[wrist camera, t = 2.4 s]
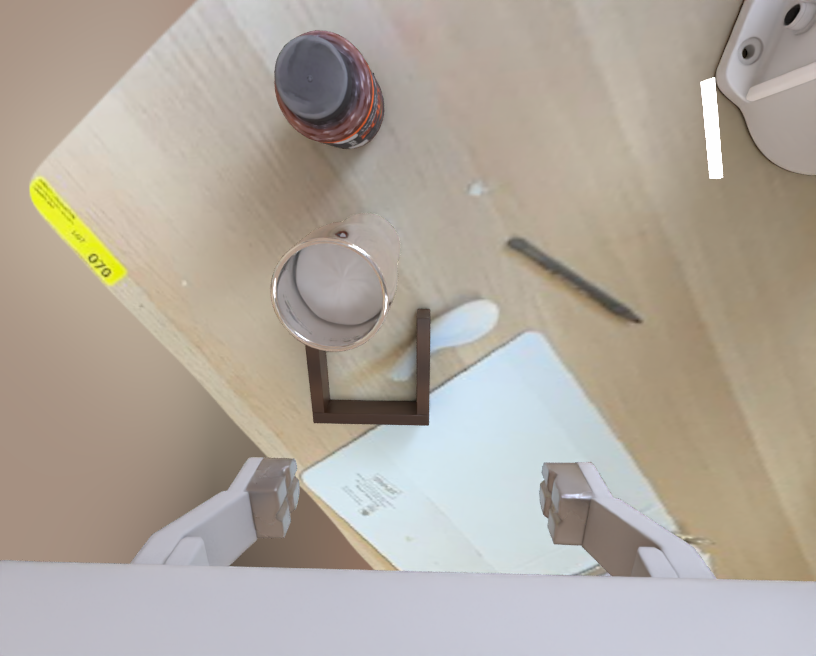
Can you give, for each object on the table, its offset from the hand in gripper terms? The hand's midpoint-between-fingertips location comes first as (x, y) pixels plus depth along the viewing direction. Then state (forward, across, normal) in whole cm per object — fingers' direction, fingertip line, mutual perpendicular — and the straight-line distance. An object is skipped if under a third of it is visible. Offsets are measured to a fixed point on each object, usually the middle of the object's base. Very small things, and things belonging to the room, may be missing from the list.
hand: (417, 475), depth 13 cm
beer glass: (+26, +5, -3) cm, 26 cm away
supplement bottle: (+26, +6, -14) cm, 30 cm away
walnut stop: (+26, +5, +7) cm, 27 cm away
